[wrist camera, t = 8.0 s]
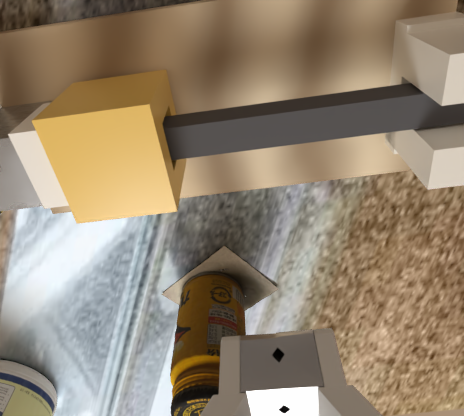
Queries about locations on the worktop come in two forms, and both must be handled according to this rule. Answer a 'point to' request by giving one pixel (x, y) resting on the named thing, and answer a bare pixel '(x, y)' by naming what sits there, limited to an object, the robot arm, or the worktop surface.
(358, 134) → the dark gray bar
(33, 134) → the white rectangular block
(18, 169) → the block
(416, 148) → the white bar support
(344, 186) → the worktop surface
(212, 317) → the condiment
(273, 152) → the board
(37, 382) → the supplement tub
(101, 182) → the sleeve
